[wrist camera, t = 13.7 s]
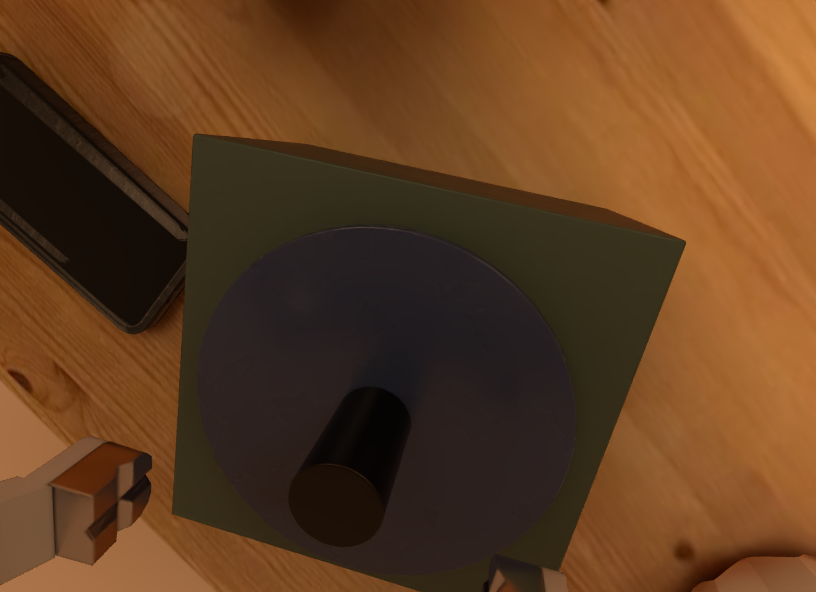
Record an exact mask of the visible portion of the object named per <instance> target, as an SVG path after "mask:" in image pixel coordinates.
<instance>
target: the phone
mask: <svg viewBox="0 0 816 592" xmlns="http://www.w3.org/2000/svg"><path fill="white" fill-rule="evenodd" d="M188 221H189V215H188V214H187V213H186V212H185V211H184V210H183V209H182V208H181V207H179V206H178V205H177V204H176V203H175V202H174V201H173V200H172V199H171V198H170V197H168V196H167V195H166V194H165V193H164V192H163V191H162V190H161V189H160V188H159V187H158V186H156V185H155V184H154V183H153V182H152V181H151V180H150V179H149V178H148V177H147V176H146V175H144V174H143V173H142V172H141V171H140V170H139V169H138V168H137V167H136V166H135V165H133V164H132V163H131V162H130V161H129V160H128V159H127V158H126V157H125V156H124V155H123V154H121V153H120V152H119V151H118V150H117V149H116V148H115V147H114V146H113V145H112V144H111V143H109V142H108V141H107V140H106V139H105V138H104V137H103V136H102V135H101V134H100V133H98V132H97V131H96V130H95V129H94V128H93V127H92V126H91V125H90V124H89V123H88V122H86V121H85V120H84V119H83V118H82V117H81V116H80V115H79V114H78V113H77V112H76V111H74V110H73V109H72V108H71V107H70V106H69V105H68V104H67V103H66V102H65V101H63V100H62V99H61V98H60V97H59V96H58V95H57V94H56V93H55V92H54V91H53V90H51V89H50V88H49V87H48V86H47V85H46V84H45V83H44V82H43V81H42V80H41V79H39V78H38V77H37V76H36V75H35V74H34V73H33V72H32V71H31V70H30V69H28V68H27V67H26V66H25V65H24V64H23V63H22V62H21V61H20V60H19V59H17V58H16V57H14V56H13V55H11V54H7V53H3V52H0V224H1V225H2V226H3V227H4V228H5V229H6V230H8V231H9V232H10V233H11V234H12V235H13V236H14V237H16V238H17V239H18V240H19V241H20V242H21V243H22V244H23V245H25V246H26V247H27V248H28V249H29V250H30V251H31V252H33V253H34V254H35V255H36V256H37V257H38V258H39V259H40V260H42V261H43V262H44V263H45V264H46V265H47V266H48V267H50V268H51V269H52V270H53V271H54V272H55V273H56V274H58V275H59V276H60V277H61V278H62V279H63V280H64V281H65V282H67V283H68V284H69V285H70V286H71V287H72V288H73V289H75V290H76V291H77V292H78V293H79V294H80V295H81V296H82V297H84V298H85V299H86V300H87V301H88V302H89V303H90V304H92V305H93V306H94V307H95V308H96V309H97V310H98V311H99V312H101V313H102V314H103V315H104V316H105V317H106V318H107V319H109V320H110V321H111V322H112V323H113V324H114V325H115V326H116V327H118V328H119V329H120V330H122V331H123V332H125V333H128V334H138V333H141V332H143V331H145V330H147V329H149V328H151V327H153V326H154V325H156V324H157V323H158V321H159V320H160V319H161V317H162V316H163V315H164V313H165V312H166V311H167V309H168V308H169V307H170V306H171V304H172V303H173V302H174V300H175V299H176V298H177V296H178V295H179V294H180V292H181V291H182V290H183V288H184V287H185V275H186V257H187V239H188Z"/></svg>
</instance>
